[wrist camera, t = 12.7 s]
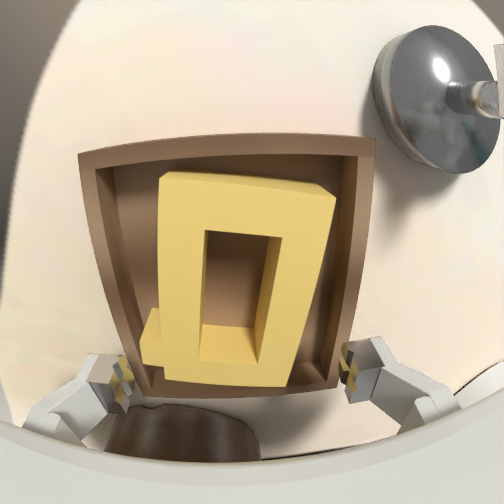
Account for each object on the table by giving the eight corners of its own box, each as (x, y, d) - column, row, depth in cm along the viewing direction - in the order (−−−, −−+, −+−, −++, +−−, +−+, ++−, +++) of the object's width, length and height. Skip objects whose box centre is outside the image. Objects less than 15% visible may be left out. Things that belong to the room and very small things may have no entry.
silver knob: (473, 172, 12) (555, 206, 7) (372, 159, 12) (464, 192, 6) (472, 56, 9) (554, 52, 4) (368, 18, 9) (448, -28, 3)
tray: (327, 361, 17) (336, 387, 15) (150, 369, 16) (143, 396, 14) (353, 136, 11) (375, 139, 9) (101, 148, 11) (77, 153, 9)
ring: (316, 183, 12) (336, 197, 9) (278, 351, 15) (285, 386, 13) (151, 166, 11) (130, 176, 9) (154, 341, 15) (144, 376, 12)
